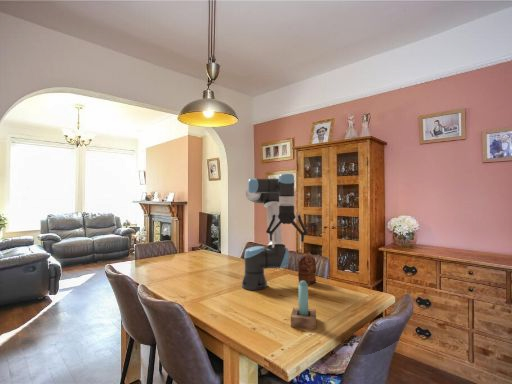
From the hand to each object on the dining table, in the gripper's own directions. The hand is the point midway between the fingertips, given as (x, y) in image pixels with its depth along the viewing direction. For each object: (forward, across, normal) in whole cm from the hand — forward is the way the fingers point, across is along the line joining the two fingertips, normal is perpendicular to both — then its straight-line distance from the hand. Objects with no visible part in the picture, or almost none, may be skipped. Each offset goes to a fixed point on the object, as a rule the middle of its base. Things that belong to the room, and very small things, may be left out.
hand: (286, 247), depth 135 cm
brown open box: (+28, +9, -18) cm, 34 cm away
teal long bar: (+28, +9, -18) cm, 34 cm away
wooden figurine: (+30, +9, +37) cm, 48 cm away
